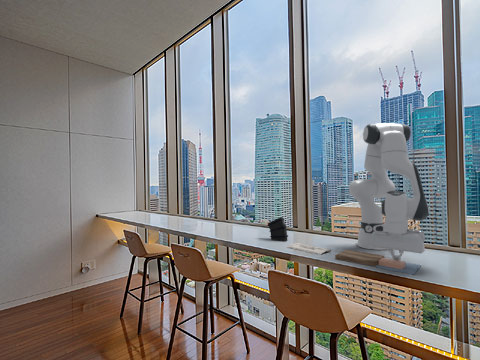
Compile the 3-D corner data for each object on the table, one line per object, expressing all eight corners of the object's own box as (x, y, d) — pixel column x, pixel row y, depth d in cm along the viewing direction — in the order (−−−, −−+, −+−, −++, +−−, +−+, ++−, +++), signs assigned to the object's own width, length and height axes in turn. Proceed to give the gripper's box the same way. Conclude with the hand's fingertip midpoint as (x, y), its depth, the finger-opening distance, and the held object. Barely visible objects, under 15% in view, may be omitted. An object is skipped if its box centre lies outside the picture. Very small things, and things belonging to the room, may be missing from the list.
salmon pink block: (378, 264, 119) (378, 260, 119) (383, 262, 123) (383, 257, 123) (401, 269, 112) (401, 264, 112) (405, 266, 117) (405, 261, 117)
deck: (346, 253, 140) (346, 249, 140) (384, 260, 128) (384, 255, 128) (335, 258, 130) (335, 254, 130) (375, 266, 117) (375, 261, 117)
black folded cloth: (289, 239, 168) (280, 217, 172) (273, 246, 175) (264, 224, 179) (292, 238, 171) (283, 216, 175) (276, 245, 178) (267, 223, 182)
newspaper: (333, 252, 145) (332, 247, 145) (320, 258, 137) (320, 253, 137) (298, 245, 162) (298, 240, 162) (285, 250, 154) (285, 246, 154)
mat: (386, 259, 128) (386, 259, 128) (421, 265, 118) (421, 265, 118) (375, 267, 116) (375, 266, 116) (413, 274, 107) (413, 273, 107)
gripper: (426, 229, 112) (426, 263, 112) (374, 225, 127) (374, 254, 126) (423, 231, 108) (423, 266, 108) (369, 226, 122) (369, 257, 122)
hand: (396, 260), depth 117 cm, fingers closed
